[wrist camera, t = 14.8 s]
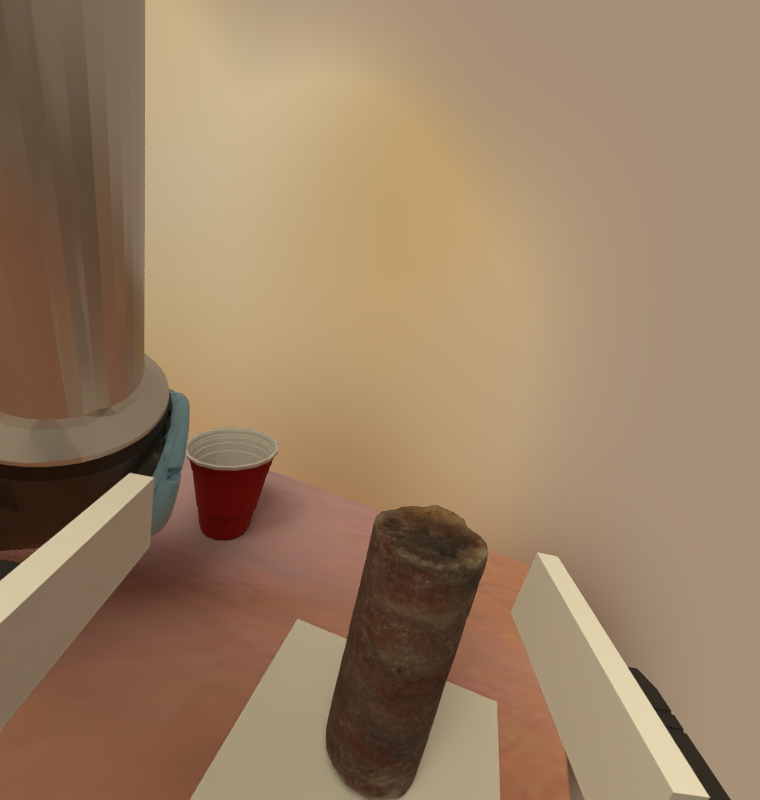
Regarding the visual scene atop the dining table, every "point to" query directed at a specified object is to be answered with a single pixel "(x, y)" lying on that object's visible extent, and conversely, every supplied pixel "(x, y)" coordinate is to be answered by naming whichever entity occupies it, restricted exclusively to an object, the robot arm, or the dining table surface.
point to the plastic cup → (229, 477)
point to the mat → (306, 736)
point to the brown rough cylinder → (401, 646)
